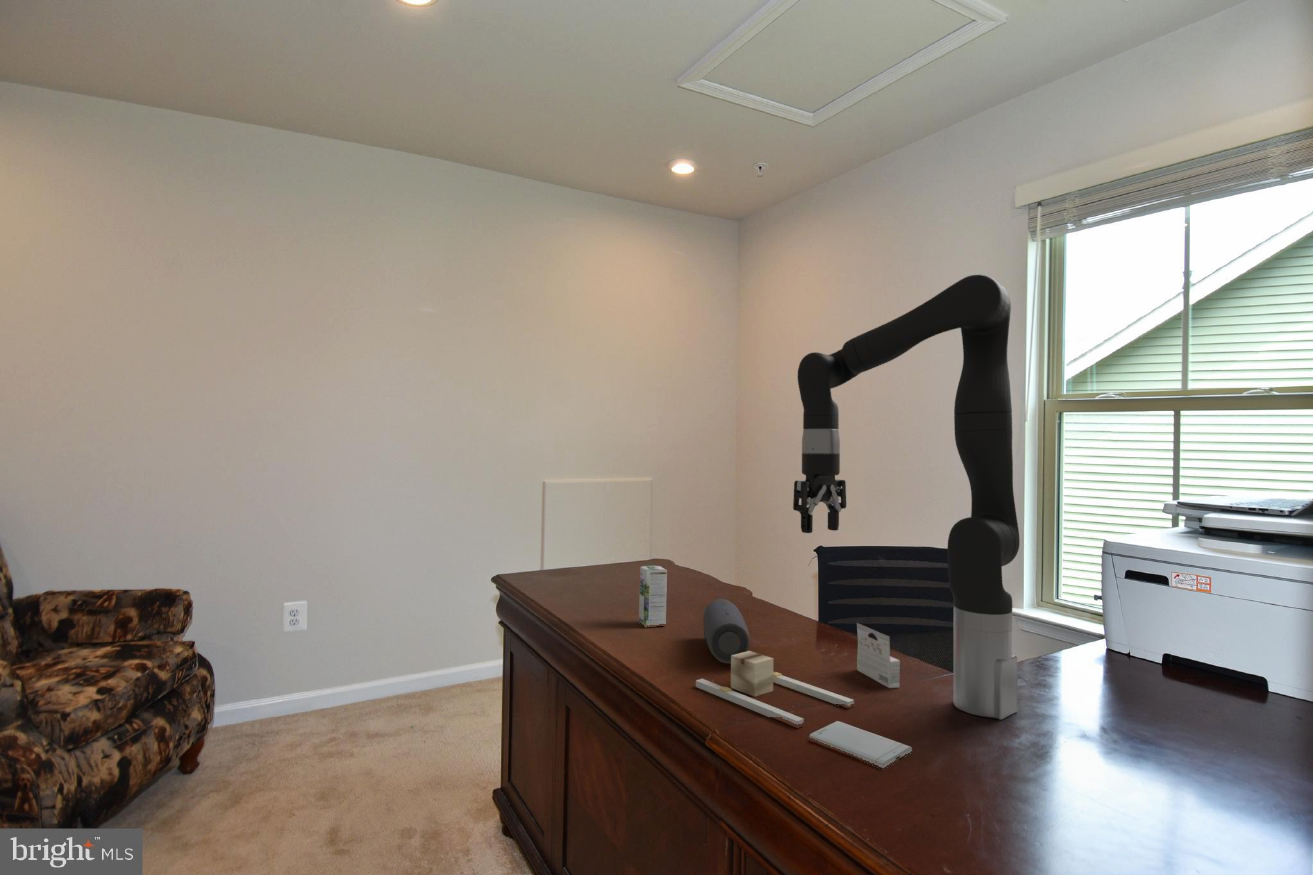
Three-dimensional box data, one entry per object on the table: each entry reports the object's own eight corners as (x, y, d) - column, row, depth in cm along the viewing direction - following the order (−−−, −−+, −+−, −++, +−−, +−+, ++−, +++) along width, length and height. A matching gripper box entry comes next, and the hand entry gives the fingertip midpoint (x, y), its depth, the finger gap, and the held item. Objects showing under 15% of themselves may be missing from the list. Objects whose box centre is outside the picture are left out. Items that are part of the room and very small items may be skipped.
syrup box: (638, 622, 173) (638, 565, 173) (660, 621, 175) (660, 565, 175) (644, 628, 168) (645, 569, 168) (667, 626, 169) (667, 568, 170)
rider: (773, 690, 125) (773, 657, 125) (754, 697, 122) (754, 662, 122) (749, 682, 130) (749, 650, 130) (730, 687, 127) (730, 654, 127)
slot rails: (853, 706, 117) (853, 698, 117) (797, 728, 108) (797, 719, 108) (751, 670, 136) (751, 663, 136) (695, 686, 127) (695, 679, 127)
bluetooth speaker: (752, 670, 137) (753, 620, 137) (706, 669, 137) (707, 620, 137) (741, 639, 159) (741, 596, 160) (701, 638, 160) (701, 595, 160)
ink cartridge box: (866, 669, 138) (866, 621, 138) (900, 688, 127) (900, 636, 128) (855, 670, 137) (856, 622, 138) (889, 689, 127) (889, 636, 127)
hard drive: (808, 734, 104) (883, 761, 94) (838, 719, 109) (912, 744, 100) (808, 744, 104) (883, 773, 94) (838, 730, 109) (912, 756, 100)
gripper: (813, 451, 130) (813, 535, 130) (857, 452, 139) (856, 531, 139) (783, 451, 136) (782, 532, 136) (826, 451, 145) (826, 527, 145)
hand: (820, 531), depth 137 cm, fingers open, 8 cm apart
